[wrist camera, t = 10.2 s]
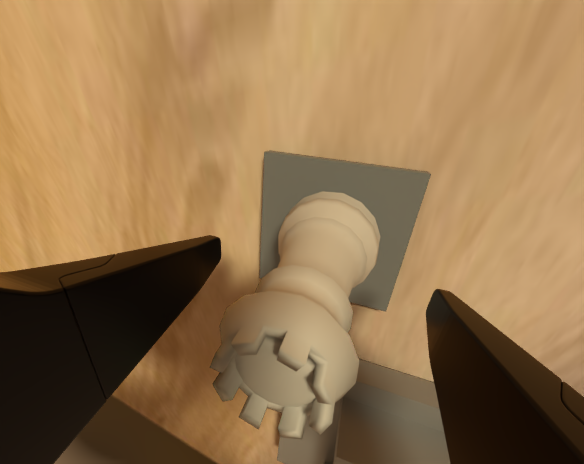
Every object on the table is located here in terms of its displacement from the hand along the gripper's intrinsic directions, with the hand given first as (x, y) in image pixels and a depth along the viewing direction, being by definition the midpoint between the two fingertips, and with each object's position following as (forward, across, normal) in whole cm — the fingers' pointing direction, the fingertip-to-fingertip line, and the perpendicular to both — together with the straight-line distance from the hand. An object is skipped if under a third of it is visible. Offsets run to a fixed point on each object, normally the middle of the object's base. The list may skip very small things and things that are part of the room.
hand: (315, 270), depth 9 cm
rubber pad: (+4, 0, 0) cm, 4 cm away
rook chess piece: (+3, 0, 0) cm, 3 cm away
